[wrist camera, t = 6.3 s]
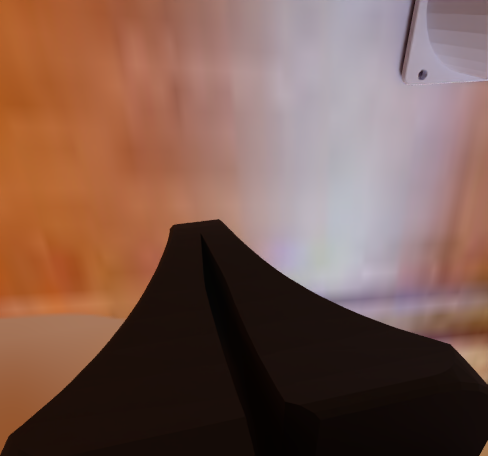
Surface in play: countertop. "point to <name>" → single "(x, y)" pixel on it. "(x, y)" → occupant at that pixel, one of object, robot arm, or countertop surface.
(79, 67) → the countertop surface
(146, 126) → the countertop surface
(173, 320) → the robot arm
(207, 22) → the countertop surface
